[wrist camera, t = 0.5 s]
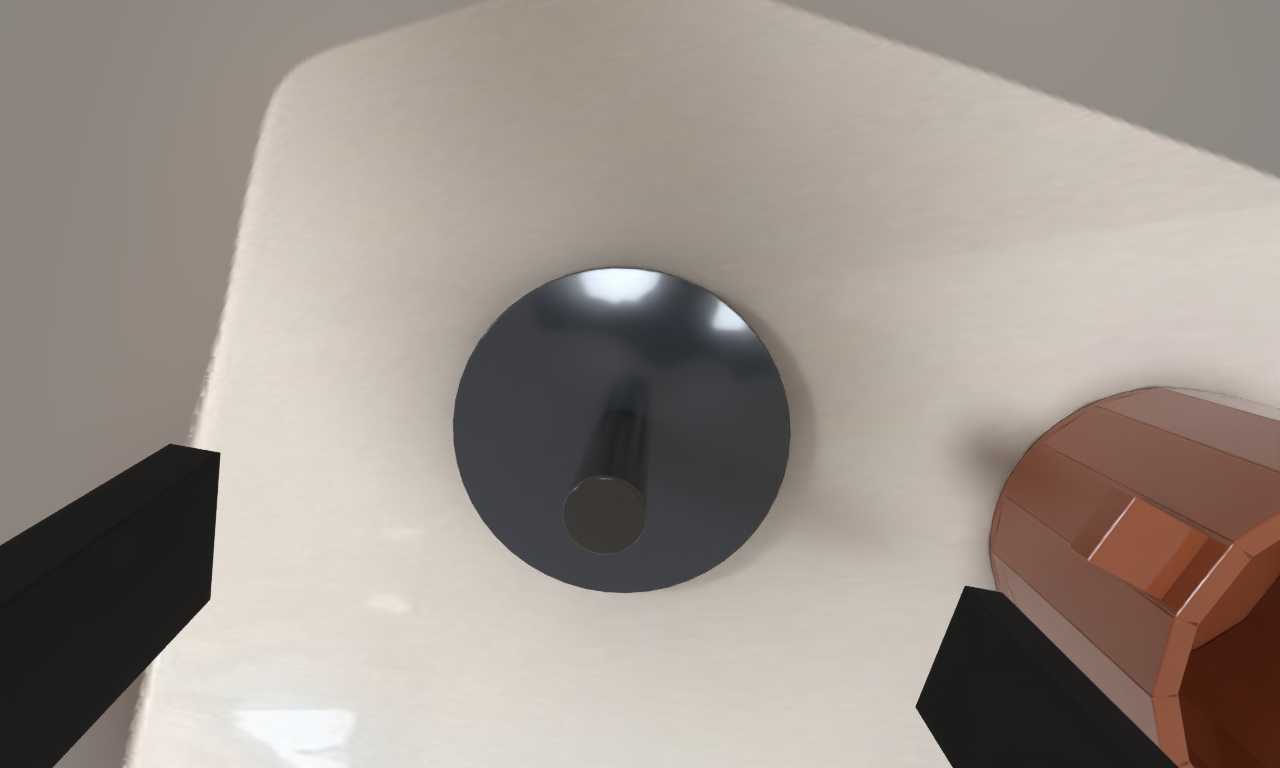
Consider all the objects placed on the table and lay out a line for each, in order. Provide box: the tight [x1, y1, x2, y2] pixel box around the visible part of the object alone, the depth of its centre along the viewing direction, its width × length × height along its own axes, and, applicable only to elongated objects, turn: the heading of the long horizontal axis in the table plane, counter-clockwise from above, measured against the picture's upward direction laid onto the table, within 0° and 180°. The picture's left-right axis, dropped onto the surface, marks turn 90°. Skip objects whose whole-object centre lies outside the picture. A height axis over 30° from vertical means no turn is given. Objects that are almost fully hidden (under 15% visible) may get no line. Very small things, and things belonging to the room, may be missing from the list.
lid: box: [453, 267, 790, 593], centre depth 25 cm, size 15×15×10 cm
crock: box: [990, 387, 1280, 768], centre depth 25 cm, size 14×19×10 cm
